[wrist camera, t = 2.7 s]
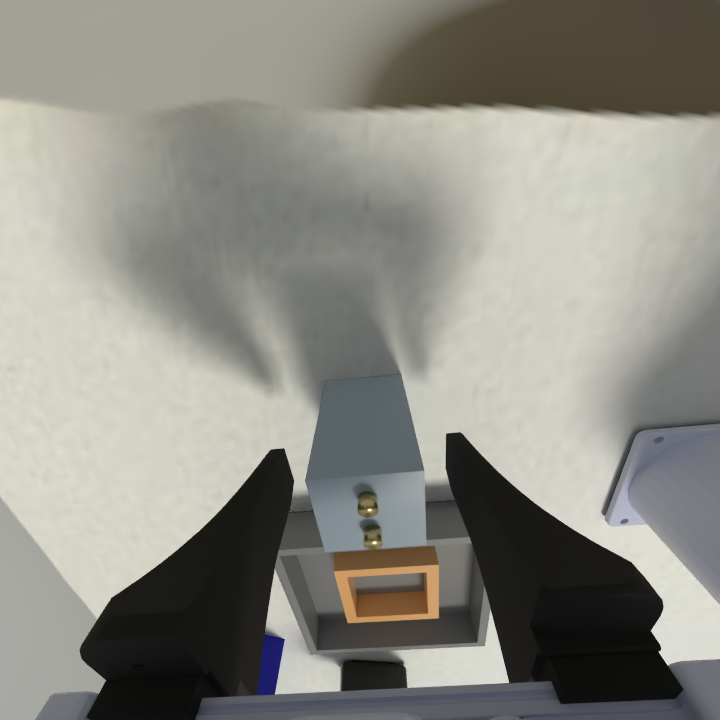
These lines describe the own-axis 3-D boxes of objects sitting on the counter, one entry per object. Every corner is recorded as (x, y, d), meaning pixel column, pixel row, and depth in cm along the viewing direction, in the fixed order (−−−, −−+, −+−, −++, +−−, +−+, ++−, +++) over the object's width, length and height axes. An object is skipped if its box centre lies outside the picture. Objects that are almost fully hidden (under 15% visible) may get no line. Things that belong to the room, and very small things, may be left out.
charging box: (485, 498, 20) (501, 534, 18) (474, 608, 26) (484, 645, 24) (277, 513, 21) (267, 550, 18) (315, 617, 27) (310, 654, 25)
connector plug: (400, 373, 16) (427, 483, 10) (404, 433, 18) (428, 558, 11) (325, 381, 16) (302, 493, 10) (336, 439, 18) (323, 565, 12)
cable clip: (240, 625, 28) (211, 723, 23) (284, 636, 29) (267, 733, 24) (205, 673, 33) (175, 764, 28) (245, 681, 34) (223, 771, 29)
